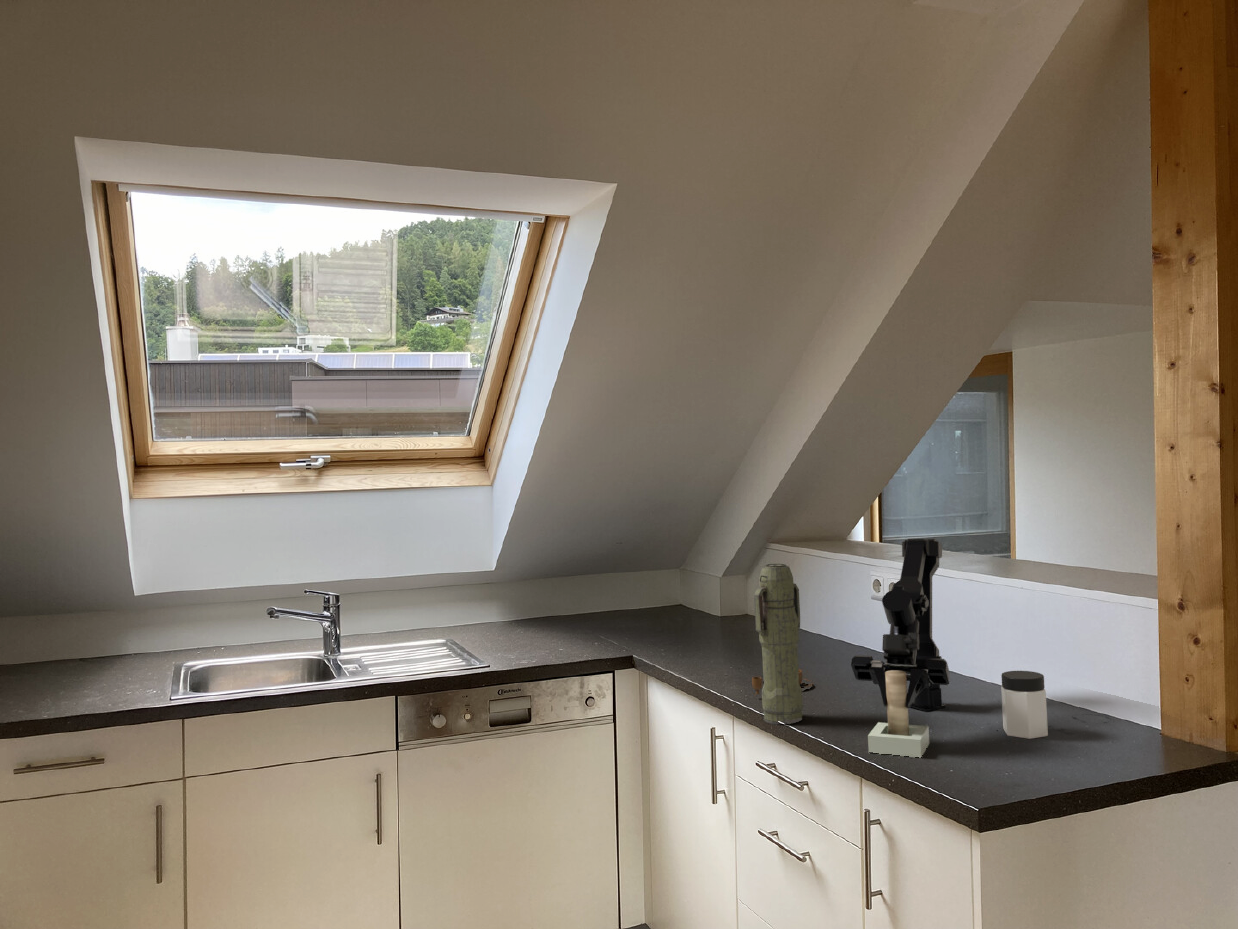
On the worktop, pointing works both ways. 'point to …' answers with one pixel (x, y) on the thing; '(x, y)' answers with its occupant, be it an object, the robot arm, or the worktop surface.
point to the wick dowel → (897, 702)
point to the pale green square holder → (899, 741)
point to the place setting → (758, 682)
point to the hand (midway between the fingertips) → (896, 706)
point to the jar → (1024, 704)
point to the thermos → (779, 642)
